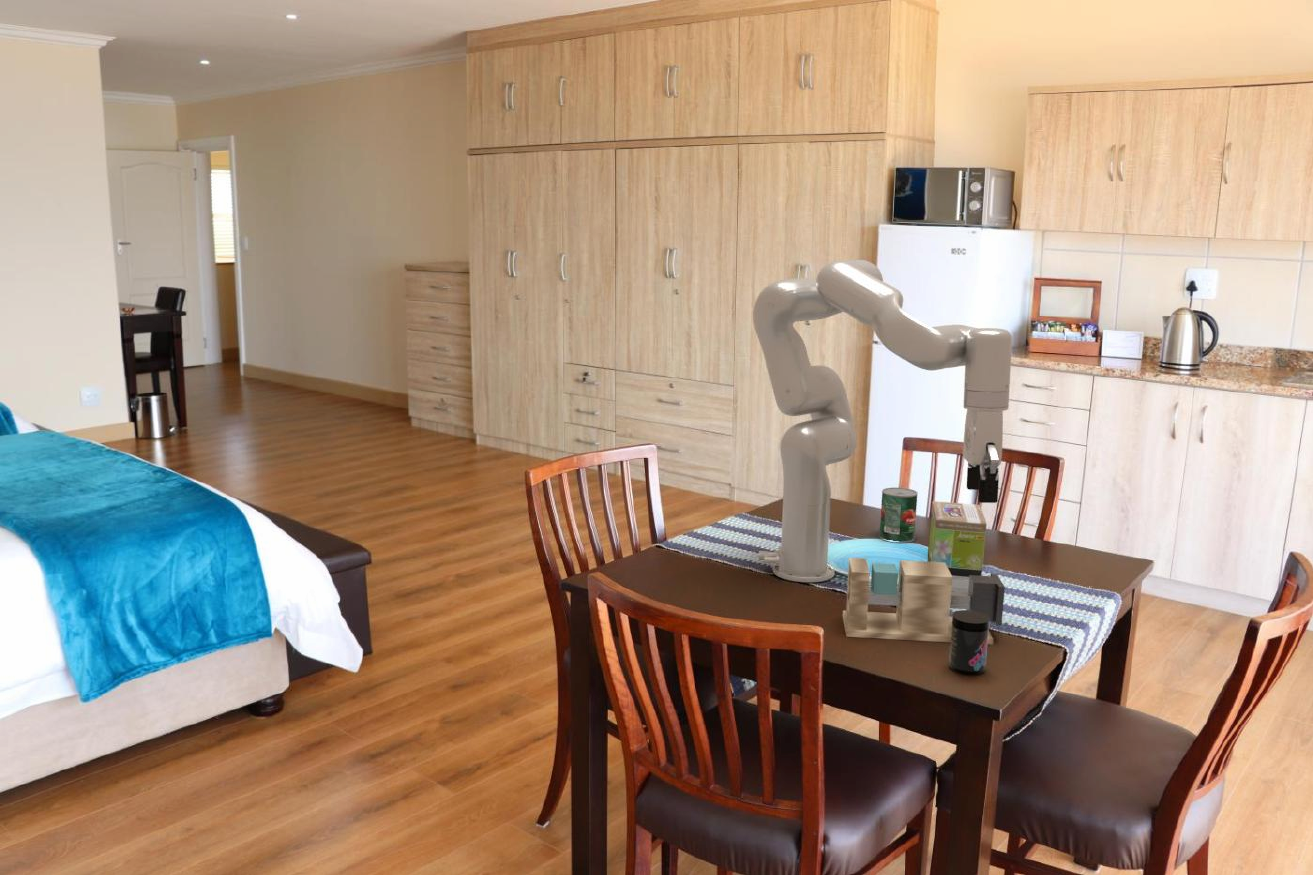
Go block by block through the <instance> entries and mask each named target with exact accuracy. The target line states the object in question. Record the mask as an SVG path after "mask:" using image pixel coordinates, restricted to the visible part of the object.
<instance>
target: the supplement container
mask: <svg viewBox="0 0 1313 875" xmlns="http://www.w3.org/2000/svg"><path fill="white" fill-rule="evenodd" d="M990 623H991V622H990V618H989V616H987V615H986V614H984V613H981V612H977V611H971V610H967V609H959V610H956V611H954V612H953V613H952V631H951V642H949V643H950V644H949V645H950V646H949V659H948V666H949V667H950V669H951V670H952V671H953V672H955V673H959V674H961V675H964V676H965V675H966V676H977V675H980V674H982V673H984V671H985V670H986V666H987V654H988V645H989V644H988V633H989V632H990V630H989V629H990Z"/></svg>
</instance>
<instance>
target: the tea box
mask: <svg viewBox="0 0 1313 875" xmlns="http://www.w3.org/2000/svg"><path fill="white" fill-rule="evenodd" d="M986 535H987V521H986V517H985V515H984V513H983V510H982V507H981V505H980V504H975V503H973V504H972V503H963V502H962V503H959V502H950V501H932V502H931V511H930V522H929V536H928V547H927V557H926V558H927V559H926V562H945V563H946V565H947V567H948V569H949V571H950V573H951V575H952V590H951V591H965V592H968V586H969V575H976V576H983V574H982V573H983V565H984V554H985V544H986V537H987V536H986Z"/></svg>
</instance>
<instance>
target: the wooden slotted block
mask: <svg viewBox="0 0 1313 875" xmlns="http://www.w3.org/2000/svg"><path fill="white" fill-rule="evenodd" d="M898 568H899V569H898V583H897V588H902V598H901V606H896V612H895V613H894V612H874V611H868V610H869V604H868V596H869V587H870V580H871V576H870V574H871V573H870V568H869V565H868V561H867V558H861V557H860V558H859V557H849V558H848V568H847V569H848V572H847V590H846V606H845V610H842V620H843V625H844V631H845V636H846V638H847V637H848V638H850V637H851V638H865V639H866V638H867V639H881V640H882V639H883V640H900V641H901V640H902V641H903V640H904V641H905V640H906V641H919V642H920V641H921V642H922V641H923V642H939V643H941V642H942V643H951V631H952V616H950V614H951V613H950V612H951V608H950V603H951V590H952V575H951V573H950V571H949V569H948V567H947V565H946V563H945V562H927V560H926V561H923V560H921V561H920V560H904V559H903V560H901V559H900V560H899V566H898ZM987 645H990V646H993V645H994V637H993V635H992V634H991V631H989V633H988V644H987Z"/></svg>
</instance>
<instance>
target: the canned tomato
mask: <svg viewBox="0 0 1313 875" xmlns="http://www.w3.org/2000/svg"><path fill="white" fill-rule="evenodd" d="M881 492H882V493H881V494H882V495H881V507H880V509H881V510H880V521H879V522H880V524H879V535H878V536H879V539H880V540H882V539H886V540H893V541H899V542H908V543H911V542H912V543H913V541H915V539H916V538H915V535H916V534H915V533H916V521H917V520H916V519H917V505H918V491H916V490H914V489H911V488H906V487H895V486H894V487H885V488H883V489H882V491H881ZM908 543H907V544H908Z"/></svg>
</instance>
